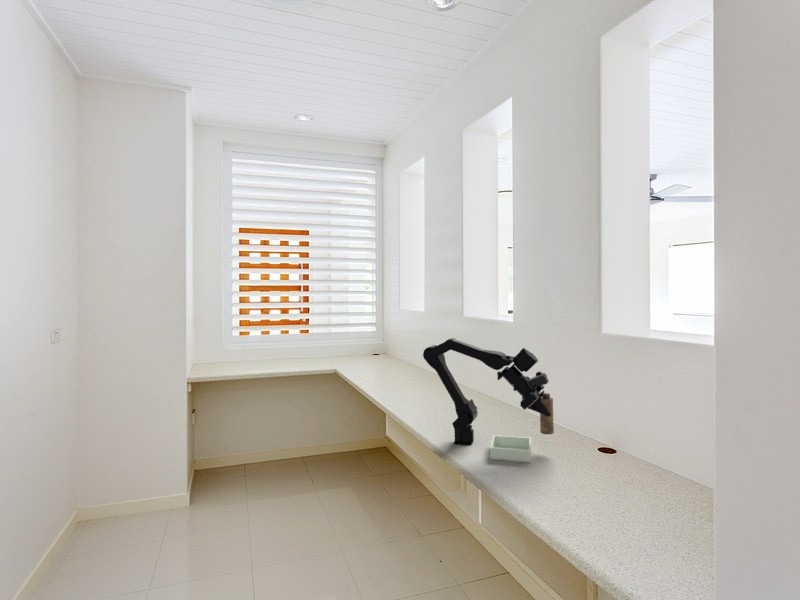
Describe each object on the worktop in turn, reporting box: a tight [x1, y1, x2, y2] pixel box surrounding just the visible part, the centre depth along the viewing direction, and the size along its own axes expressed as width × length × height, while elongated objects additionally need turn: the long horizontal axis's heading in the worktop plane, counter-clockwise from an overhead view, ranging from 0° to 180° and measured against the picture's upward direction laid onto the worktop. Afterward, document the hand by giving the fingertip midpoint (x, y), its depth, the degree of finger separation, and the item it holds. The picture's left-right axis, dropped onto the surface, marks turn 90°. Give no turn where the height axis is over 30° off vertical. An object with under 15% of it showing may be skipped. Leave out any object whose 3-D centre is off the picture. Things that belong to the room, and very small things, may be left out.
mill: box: [539, 392, 555, 435], centre depth 159 cm, size 4×4×14 cm
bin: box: [489, 434, 532, 464], centre depth 158 cm, size 13×13×4 cm
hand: (550, 414), depth 158 cm, fingers closed on mill, 4 cm apart
